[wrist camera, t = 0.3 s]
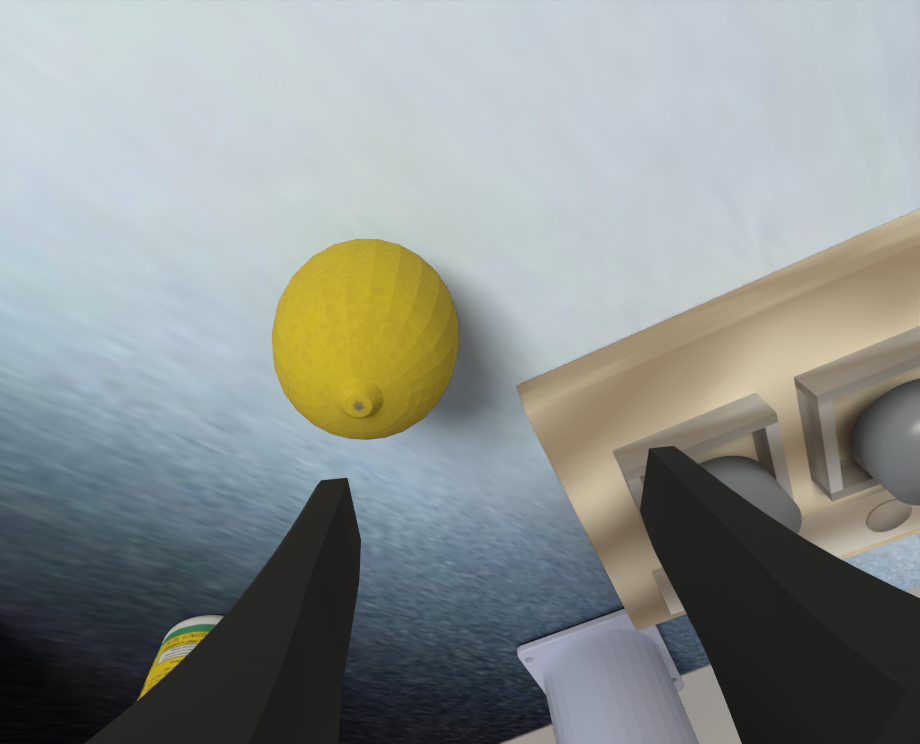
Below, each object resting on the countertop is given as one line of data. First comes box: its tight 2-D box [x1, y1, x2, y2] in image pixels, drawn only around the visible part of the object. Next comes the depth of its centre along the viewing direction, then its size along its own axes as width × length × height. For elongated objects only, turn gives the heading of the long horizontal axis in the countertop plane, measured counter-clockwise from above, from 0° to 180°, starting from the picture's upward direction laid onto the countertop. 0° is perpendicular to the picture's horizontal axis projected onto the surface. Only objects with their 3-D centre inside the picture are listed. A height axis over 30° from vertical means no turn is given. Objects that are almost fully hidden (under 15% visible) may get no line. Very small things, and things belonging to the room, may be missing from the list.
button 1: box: [699, 456, 802, 534], centre depth 21 cm, size 4×4×2 cm
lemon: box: [272, 239, 459, 440], centre depth 17 cm, size 6×6×8 cm
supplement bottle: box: [137, 615, 224, 701], centre depth 26 cm, size 5×5×10 cm
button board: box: [517, 209, 920, 631], centre depth 23 cm, size 16×26×3 cm, turn 115°
